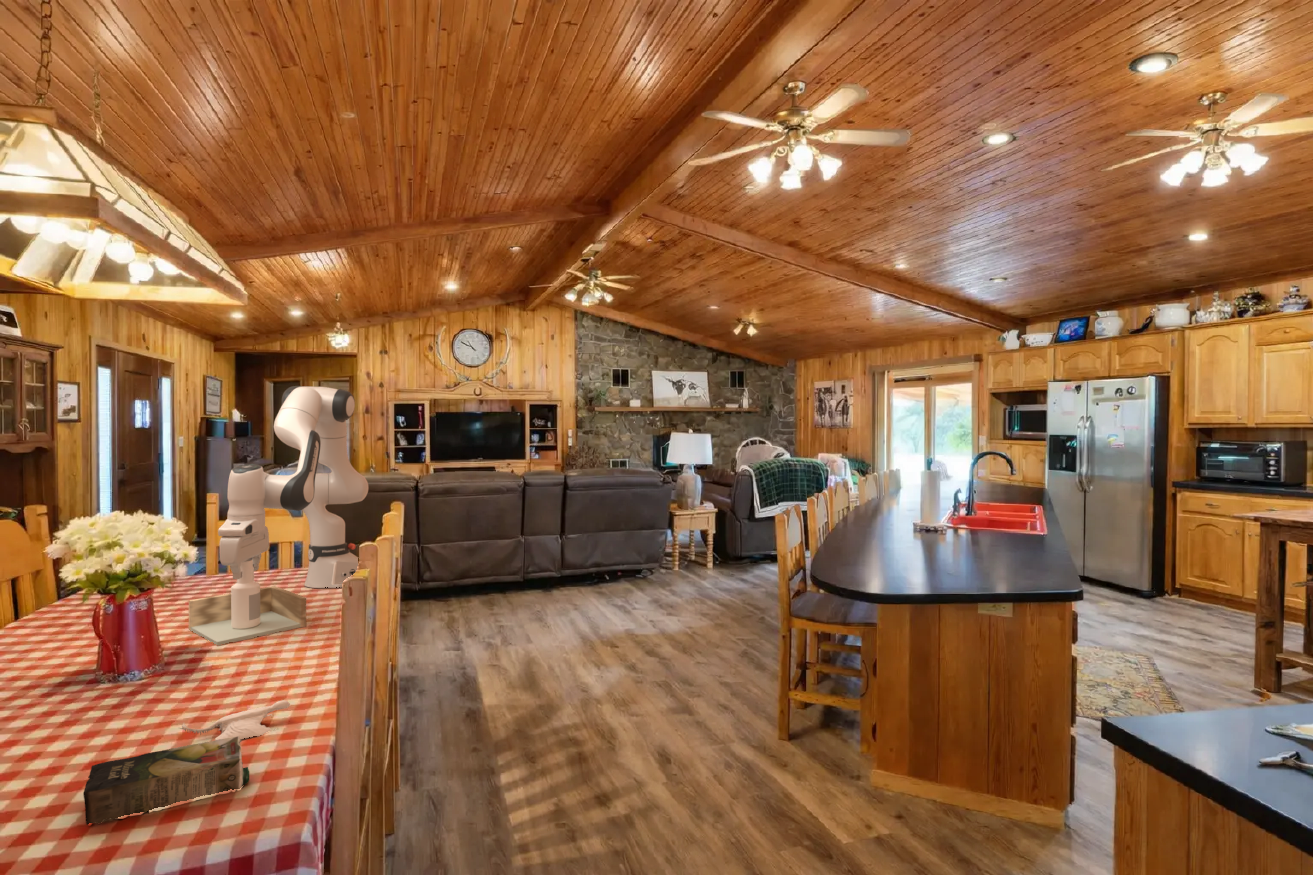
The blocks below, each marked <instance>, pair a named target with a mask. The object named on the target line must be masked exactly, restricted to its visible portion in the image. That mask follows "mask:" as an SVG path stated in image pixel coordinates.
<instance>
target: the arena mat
mask: <svg viewBox="0 0 1313 875" xmlns="http://www.w3.org/2000/svg"><path fill="white" fill-rule="evenodd" d="M299 628H302V627H301V624H300V623H297V622H295V621H293V620H291V619H288V618H286V617H284V616H281V615H279V614H277V613H274V612H272V611H270V612H265V613H260V624H259V625H257V626H255V627H251V628H246V629H234V628H232V626H231V619H229V620H224V621H219V622H214V623H209V624H204V625H199V626H194V627H191V631H190V632H192V631H193V632H192V633H194V634H195V633H196V635H197V634H198V636H199V637H201V636H202V637H204V638H205V639H204V638H203V639H204V640H206V639H207V640H206V641H208V640H209V641H210V643H211V642H213V643H214V644H213V643H212V644H213V645H215V644H216V645H219V646H222V645H221V644H224V645H226V644H225V643H228V644H230V643H229V642H233V643H236V642H241V641H244V640H245V641H246V640H250V639H255V638H258V637H257V636H259V637H263V636H267V634H268V635H272V634H271V633H273V634H276V633H275V632H277V633H280V632H279V631H282V632H286V631H290V630H291V631H292V630H295V629H299ZM202 637H201V638H202ZM254 637H255V638H254ZM209 641H208V642H209ZM216 645H215V646H216Z"/></svg>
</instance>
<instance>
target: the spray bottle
mask: <svg viewBox="0 0 1313 875" xmlns="http://www.w3.org/2000/svg"><path fill="white" fill-rule="evenodd" d="M240 570H241V572H242V578H240V579H236V582H235V583H234V584H233V585H232V586H231V587H230V593H231V626H232V628H234V629H246V628H251V627H255V626H257V625H259V624H260V588H261V584H260V582H257V581H255V571H254V567H253V560H252V558H250V559H248V560H245V561H243V562H241V566H240Z"/></svg>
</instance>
